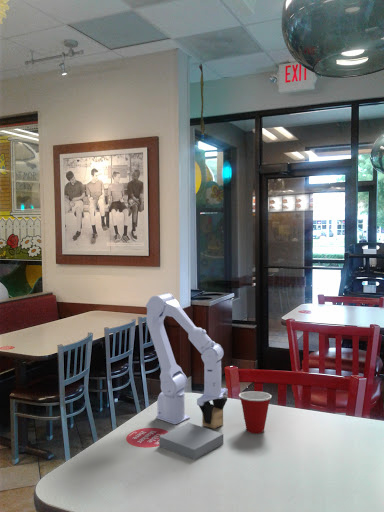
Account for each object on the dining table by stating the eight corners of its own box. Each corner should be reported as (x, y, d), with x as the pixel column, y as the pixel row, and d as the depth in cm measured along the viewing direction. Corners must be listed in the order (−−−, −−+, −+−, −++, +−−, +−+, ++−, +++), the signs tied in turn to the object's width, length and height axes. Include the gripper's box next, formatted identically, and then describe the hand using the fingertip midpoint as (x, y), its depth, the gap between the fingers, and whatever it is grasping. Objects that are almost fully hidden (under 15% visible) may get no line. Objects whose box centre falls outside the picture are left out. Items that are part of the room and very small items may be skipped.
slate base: (159, 446, 145) (159, 436, 145) (189, 431, 156) (188, 422, 156) (194, 460, 136) (194, 449, 136) (223, 443, 147) (223, 433, 147)
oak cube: (202, 425, 160) (202, 410, 160) (211, 420, 164) (211, 406, 164) (214, 428, 157) (214, 414, 157) (223, 424, 161) (223, 409, 161)
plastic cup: (270, 423, 162) (270, 389, 161) (272, 437, 151) (272, 400, 150) (238, 422, 163) (238, 388, 162) (238, 436, 152) (238, 399, 151)
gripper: (208, 388, 152) (208, 430, 152) (234, 378, 163) (234, 417, 164) (192, 384, 156) (192, 424, 157) (218, 374, 167) (218, 412, 168)
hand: (212, 420), depth 161 cm, fingers closed on oak cube, 5 cm apart
